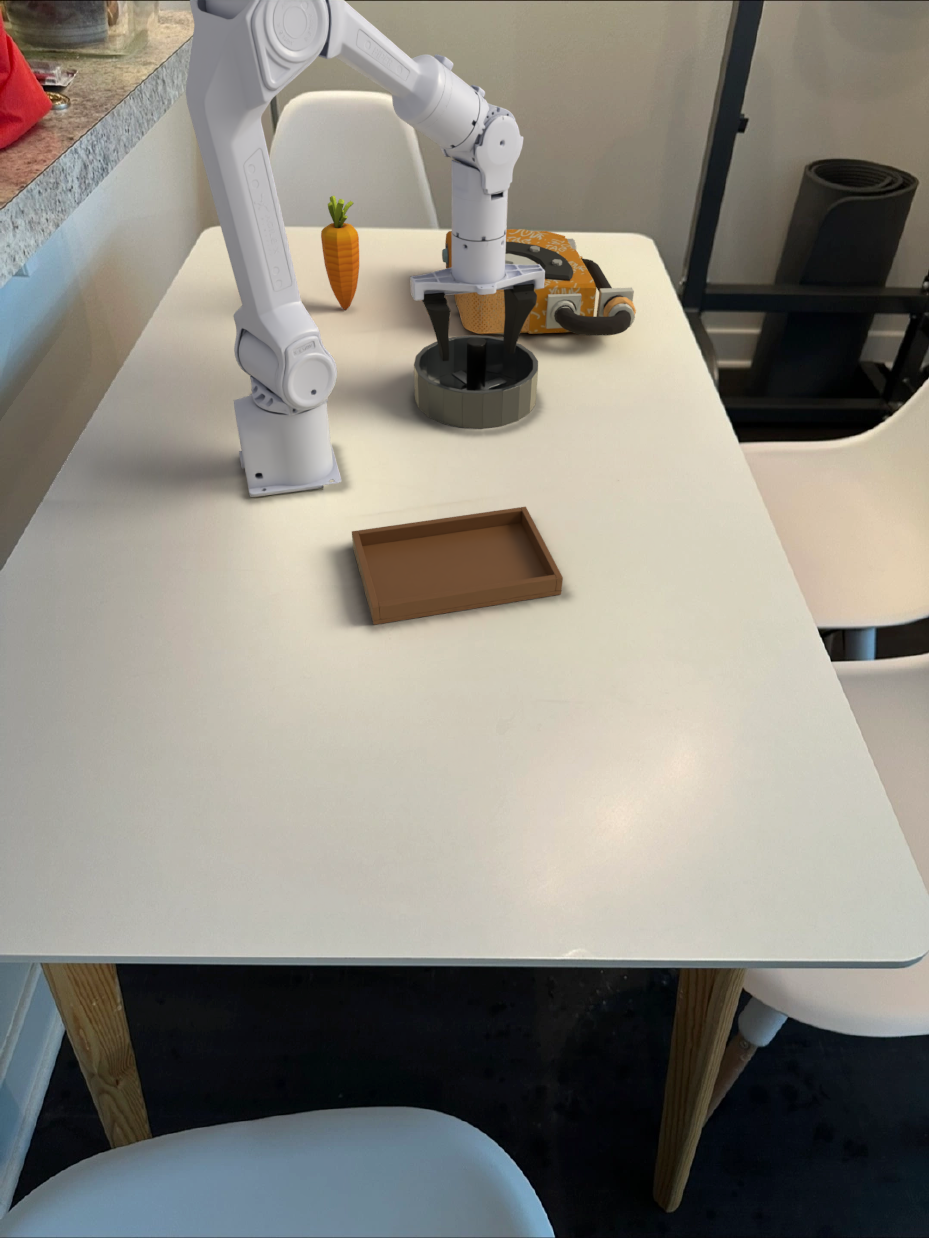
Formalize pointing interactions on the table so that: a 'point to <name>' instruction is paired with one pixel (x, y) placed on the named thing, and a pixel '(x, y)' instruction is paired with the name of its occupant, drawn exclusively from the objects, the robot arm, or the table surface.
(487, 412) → the processor bowl
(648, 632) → the table surface
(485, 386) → the blade
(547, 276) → the device
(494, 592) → the tray
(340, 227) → the carrot
